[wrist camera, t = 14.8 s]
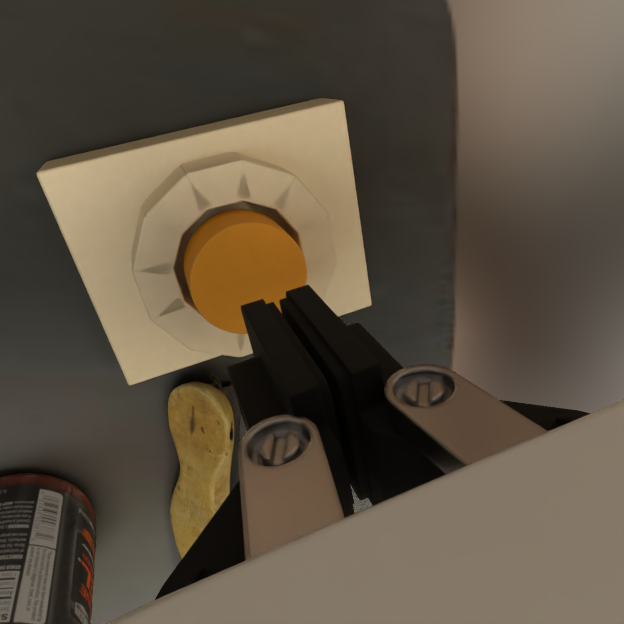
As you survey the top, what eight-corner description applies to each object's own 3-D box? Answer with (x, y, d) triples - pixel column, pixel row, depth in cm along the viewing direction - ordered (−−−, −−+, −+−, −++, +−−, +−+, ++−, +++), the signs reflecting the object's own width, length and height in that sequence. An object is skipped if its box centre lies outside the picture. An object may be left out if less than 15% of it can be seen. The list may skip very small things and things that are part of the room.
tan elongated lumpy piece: (207, 560, 28) (168, 600, 26) (213, 348, 23) (165, 372, 21) (255, 591, 27) (218, 636, 25) (272, 371, 22) (228, 401, 19)
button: (300, 294, 18) (316, 314, 16) (201, 325, 17) (208, 350, 16) (279, 195, 16) (295, 208, 15) (168, 225, 15) (173, 241, 14)
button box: (352, 286, 23) (392, 324, 19) (128, 358, 21) (129, 414, 17) (322, 97, 19) (366, 102, 15) (44, 161, 17) (24, 183, 13)
